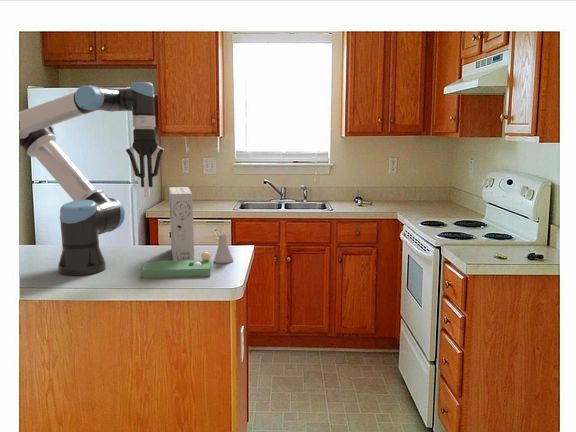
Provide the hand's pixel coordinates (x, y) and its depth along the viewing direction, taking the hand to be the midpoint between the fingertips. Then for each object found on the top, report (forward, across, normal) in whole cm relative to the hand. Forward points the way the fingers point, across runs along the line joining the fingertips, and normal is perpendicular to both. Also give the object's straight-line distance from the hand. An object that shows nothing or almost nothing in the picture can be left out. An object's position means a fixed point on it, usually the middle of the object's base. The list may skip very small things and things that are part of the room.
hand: (147, 196), depth 185 cm
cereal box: (+25, +10, +13) cm, 30 cm away
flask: (+25, +26, +1) cm, 36 cm away
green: (+24, +11, -12) cm, 29 cm away
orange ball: (+20, +20, -8) cm, 30 cm away
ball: (+23, +18, -12) cm, 31 cm away
